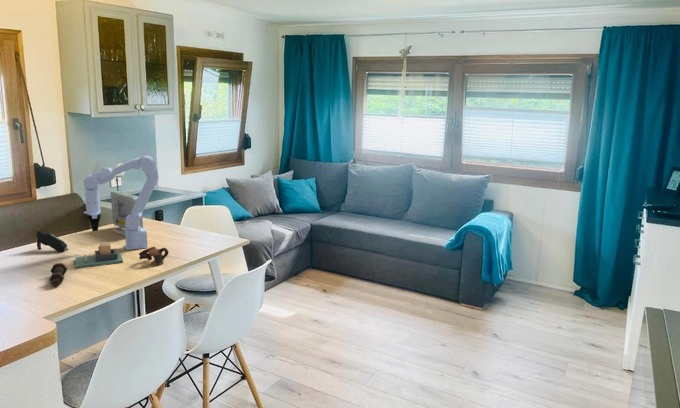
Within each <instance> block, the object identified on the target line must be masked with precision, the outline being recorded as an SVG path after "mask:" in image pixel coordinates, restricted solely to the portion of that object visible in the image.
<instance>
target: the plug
mask: <svg viewBox="0 0 680 408" xmlns="http://www.w3.org/2000/svg"><path fill="white" fill-rule="evenodd" d="M97 247H98V250H99V255H104V254H111V249H112V248H111V242H108V243H107V242H106V243H99V245H98V246H97Z"/></svg>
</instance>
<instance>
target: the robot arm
mask: <svg viewBox="0 0 680 408" xmlns="http://www.w3.org/2000/svg"><path fill="white" fill-rule="evenodd" d="M131 169H134V170H142V171H143V173H144V174H145V175H146V177H147V178H146V180H145V182H144V184H143V185H142V188H141V191H140V193H139V194H138V199H137V201H136V203H135V205H134V207H133V209H132V211H131V213H130V214H128V215H127V217H126V221H125V226H126V228H125V229H124V230H125V235H124V236H125V237H124V238H125V244H124V248H125V250H127V251H129V250H139V249H145V248H146V249H148V248H149V247H148V233H147V228H146V227H143V228H141V226H140V218H141V216H142V217H143V213H144V210H145V208H146V206H147V204H148V202H149V200H150V198H151V196H152V193H153V191H154V189H155V187H156V185H157V182H158V180H159V174H158V169H157V165H156V161H155V160H154V159H153V157H152V156H150V155H149V154H145V155H142V156H138V157H135V158H132V159H130V160H129V161H126V162H124V163H121V164H119V165H117V166H115V167H114V168H111V167H105V166H104V167H103V168H101V170H99V171H96V172H92V173H91V174H88V175H87V176H86V177H85V178H84V180H83V183H82V184H83V186H84V196H85V197H84V198H85V209H86V210H85V211H83V214H86V215H87V216H86V217H87V220H88V221H89V223H90V226H91V230H92V232H96V231H97V232H98V231H99V226H100V225H99V223H100V220H101V217H102V214H101V213H102V210H101V201H100V191H99V185H103V184H106V183H108V182H110V181H112V180H115V177H116V176H117V175H119V174H121V173H125V172H127V171H129V170H131Z"/></svg>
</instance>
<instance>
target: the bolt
mask: <svg viewBox="0 0 680 408" xmlns="http://www.w3.org/2000/svg"><path fill="white" fill-rule="evenodd" d="M67 271H68V268H67V266H66V265H65V264H64V263H63V262H59V263H54V264H53V265H52V267H51V269H50V272H51V273H52V274H51V275H50V277H49V278H48V279H49V282H50V284H51V286H52V287H59V286H60V285H61V284H63V282H64V279H65V274H66V272H67Z"/></svg>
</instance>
